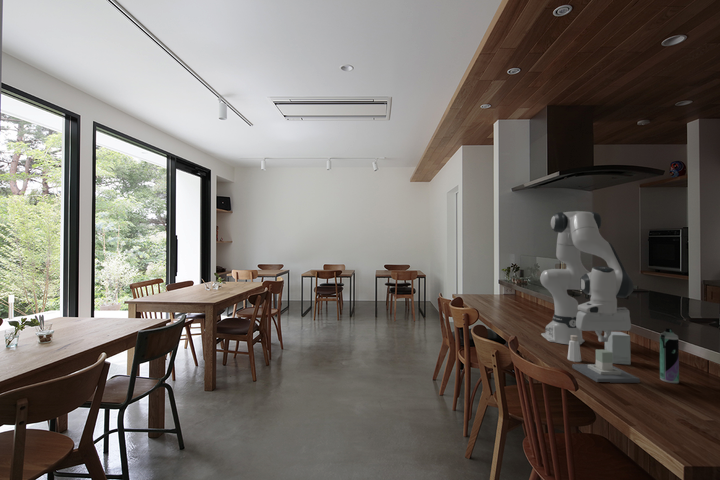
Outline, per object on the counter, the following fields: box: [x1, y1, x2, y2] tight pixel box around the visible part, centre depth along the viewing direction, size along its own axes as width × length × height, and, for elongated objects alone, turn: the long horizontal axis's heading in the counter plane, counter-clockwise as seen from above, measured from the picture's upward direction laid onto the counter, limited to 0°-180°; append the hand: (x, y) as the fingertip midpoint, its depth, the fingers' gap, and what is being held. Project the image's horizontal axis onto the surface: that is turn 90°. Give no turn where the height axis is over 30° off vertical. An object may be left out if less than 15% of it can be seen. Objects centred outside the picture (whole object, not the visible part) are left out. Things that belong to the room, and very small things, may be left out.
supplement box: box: [604, 331, 632, 366], centre depth 158 cm, size 7×7×13 cm
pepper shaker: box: [567, 335, 582, 363], centre depth 160 cm, size 5×5×11 cm
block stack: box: [595, 349, 614, 371], centre depth 142 cm, size 4×4×8 cm
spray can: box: [659, 327, 680, 384], centre depth 136 cm, size 6×6×20 cm
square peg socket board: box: [571, 363, 641, 384], centre depth 142 cm, size 16×16×3 cm
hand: (603, 341), depth 142 cm, fingers closed
